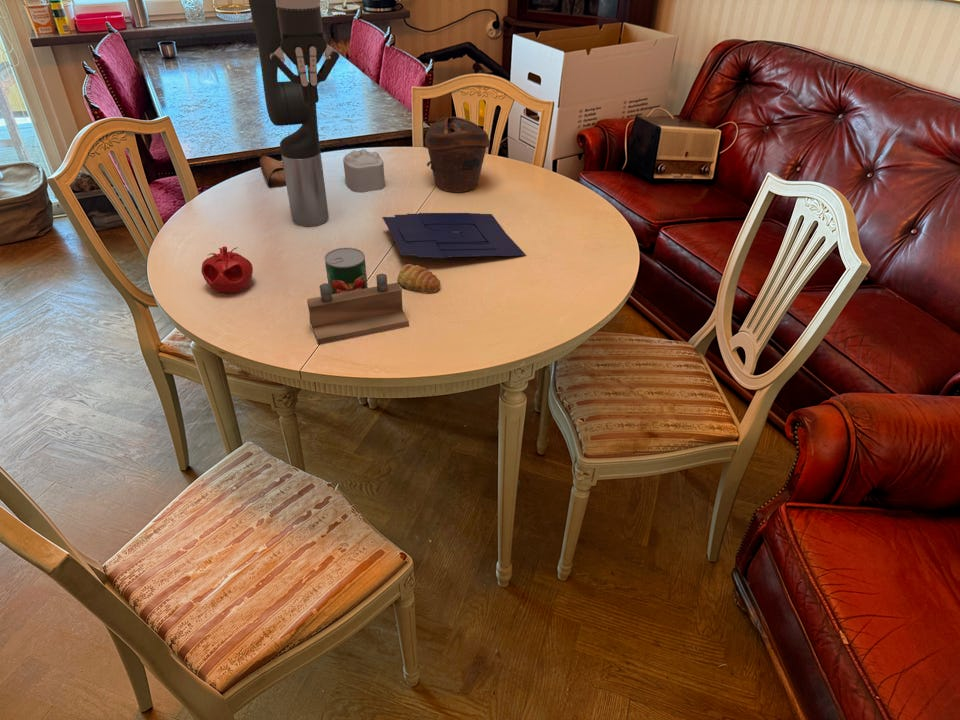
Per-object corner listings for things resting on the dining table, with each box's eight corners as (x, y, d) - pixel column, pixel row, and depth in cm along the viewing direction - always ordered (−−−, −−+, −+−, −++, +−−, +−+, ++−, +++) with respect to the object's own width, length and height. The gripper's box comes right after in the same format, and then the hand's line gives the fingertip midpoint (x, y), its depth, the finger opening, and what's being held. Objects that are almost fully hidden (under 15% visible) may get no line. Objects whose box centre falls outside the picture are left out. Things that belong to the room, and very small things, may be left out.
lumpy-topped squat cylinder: (353, 194, 173) (350, 163, 168) (340, 177, 182) (337, 147, 177) (388, 188, 177) (386, 158, 172) (374, 172, 186) (372, 143, 181)
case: (447, 166, 191) (447, 106, 180) (501, 183, 183) (504, 120, 172) (409, 184, 180) (407, 120, 169) (464, 202, 171) (466, 137, 160)
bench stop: (310, 322, 123) (303, 282, 118) (397, 305, 129) (395, 267, 124) (318, 344, 118) (311, 304, 112) (409, 325, 123) (407, 286, 118)
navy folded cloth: (379, 224, 156) (380, 210, 154) (489, 223, 167) (491, 210, 165) (403, 270, 138) (404, 255, 136) (524, 265, 149) (527, 252, 147)
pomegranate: (216, 273, 137) (206, 234, 131) (262, 275, 137) (254, 236, 131) (199, 297, 129) (188, 257, 124) (247, 299, 129) (238, 259, 124)
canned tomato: (355, 289, 134) (350, 243, 127) (376, 304, 129) (373, 257, 122) (323, 302, 129) (316, 255, 122) (344, 318, 125) (338, 270, 118)
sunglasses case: (299, 184, 177) (283, 165, 172) (279, 199, 177) (263, 181, 172) (288, 162, 190) (273, 145, 185) (269, 176, 190) (254, 159, 185)
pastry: (446, 285, 137) (446, 270, 134) (429, 299, 132) (429, 283, 130) (411, 273, 140) (411, 258, 138) (393, 286, 136) (392, 271, 133)
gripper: (330, -2, 114) (340, 97, 125) (256, 0, 110) (273, 102, 121) (340, 5, 109) (349, 107, 120) (262, 7, 105) (279, 113, 115)
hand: (311, 105), depth 120 cm, fingers closed
